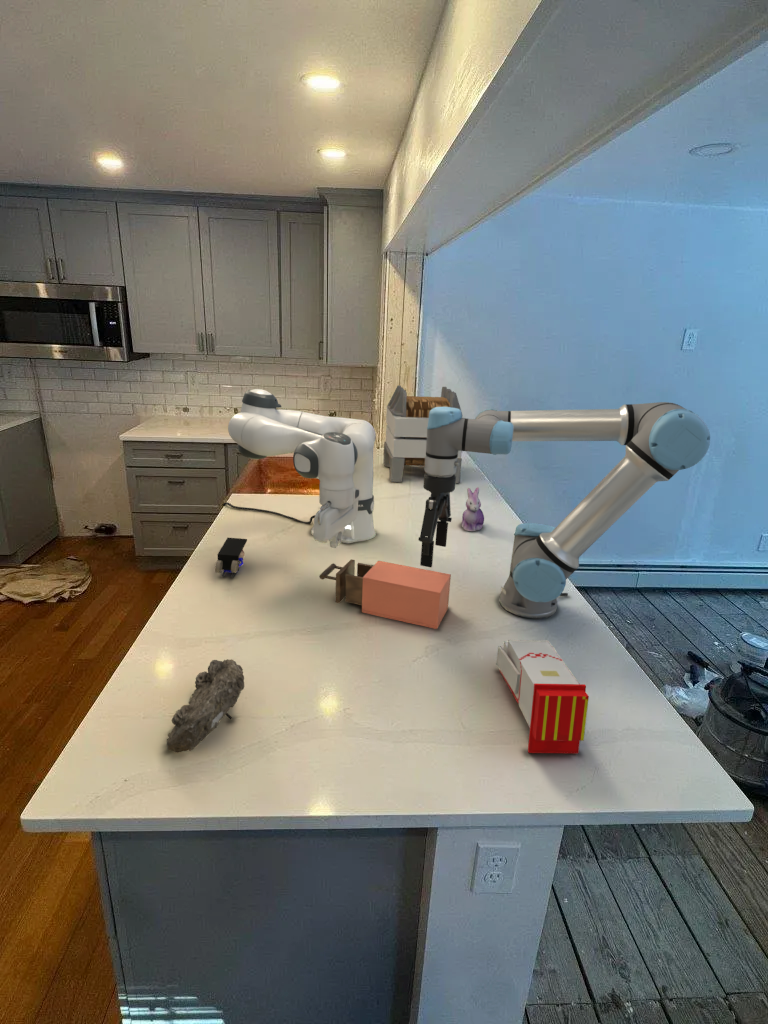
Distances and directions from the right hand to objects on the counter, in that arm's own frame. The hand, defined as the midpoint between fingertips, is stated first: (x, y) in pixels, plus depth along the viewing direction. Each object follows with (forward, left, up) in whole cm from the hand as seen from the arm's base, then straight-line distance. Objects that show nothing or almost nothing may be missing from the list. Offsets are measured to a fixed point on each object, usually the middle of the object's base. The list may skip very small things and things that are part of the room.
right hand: (433, 555), depth 142 cm
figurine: (-32, -61, -17) cm, 70 cm away
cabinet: (+6, -3, -17) cm, 18 cm away
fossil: (+51, +33, -17) cm, 63 cm away
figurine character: (+52, -32, -17) cm, 63 cm away
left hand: (+23, -13, -2) cm, 27 cm away
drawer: (+15, -9, -16) cm, 24 cm away
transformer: (-28, -133, -17) cm, 137 cm away
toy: (-12, +37, -17) cm, 42 cm away
